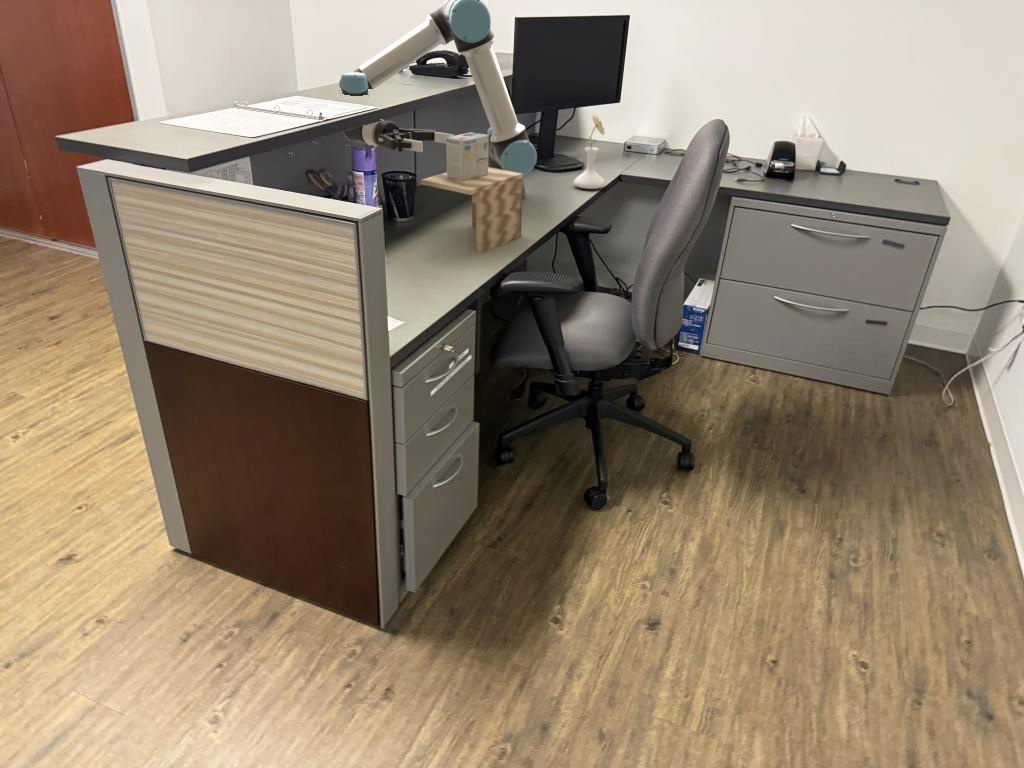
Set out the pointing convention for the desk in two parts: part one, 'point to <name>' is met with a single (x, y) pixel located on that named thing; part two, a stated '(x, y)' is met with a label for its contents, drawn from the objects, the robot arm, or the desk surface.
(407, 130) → the robot arm
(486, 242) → the wooden monitor riser
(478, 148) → the light bulb box
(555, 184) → the desk surface
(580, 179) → the flower in vase
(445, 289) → the desk surface
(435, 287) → the desk surface
